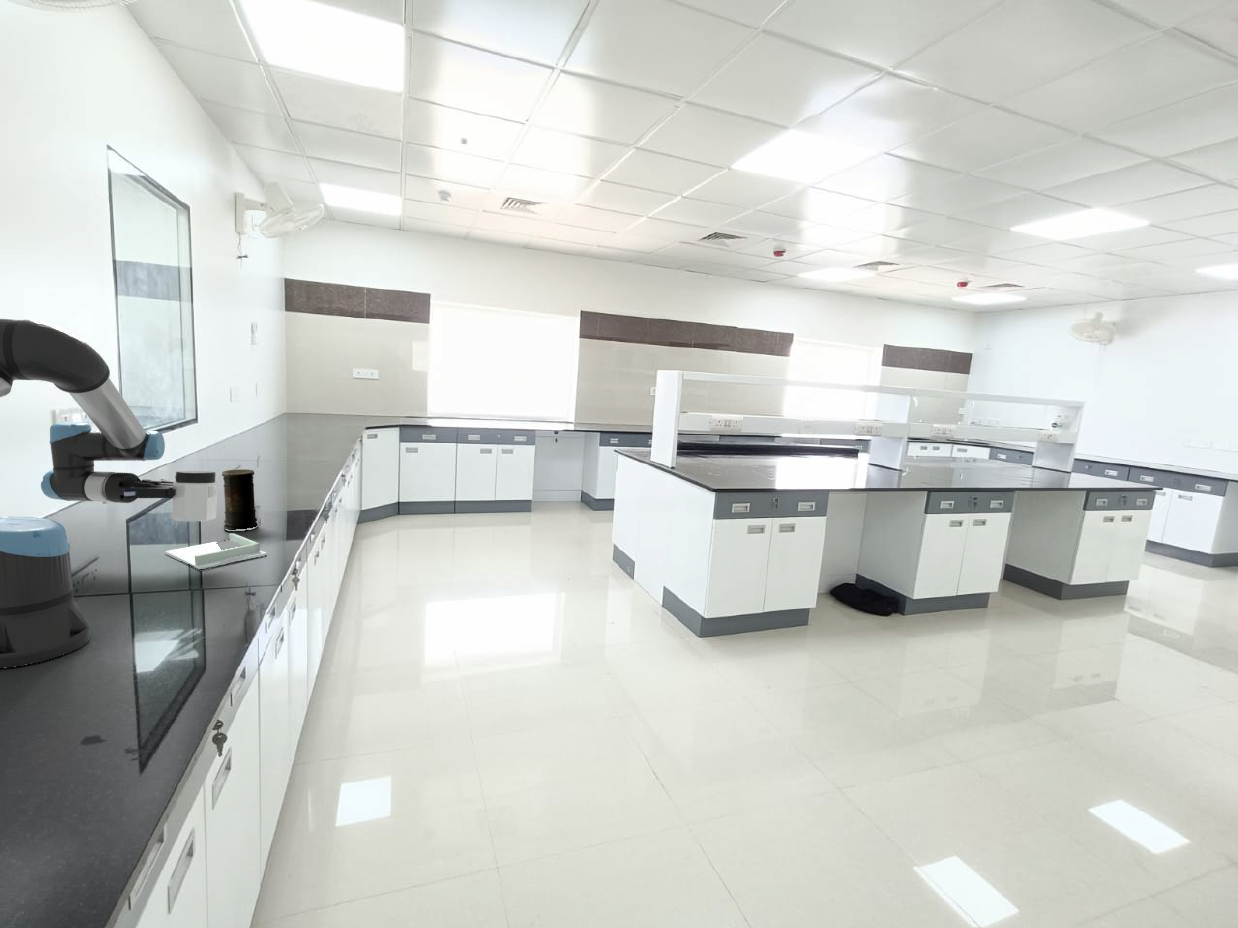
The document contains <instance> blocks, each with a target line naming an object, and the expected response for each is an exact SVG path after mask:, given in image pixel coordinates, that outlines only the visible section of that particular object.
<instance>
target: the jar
mask: <svg viewBox="0 0 1238 928" xmlns="http://www.w3.org/2000/svg"><path fill="white" fill-rule="evenodd" d="M174 477H175V481H176V482H174V483H173V489H176V495H174V497H173V498H172V516H171V517H172V521H176V522H177V521H178V522H207V521H211V520H215V519H217V501H218V499H217V497H218V496H217V495H218V482H216V472H215V471H211V470H210V471H206V470H178V471H175V476H174ZM209 486H213V497H210V498H209V497H208V487H209Z"/></svg>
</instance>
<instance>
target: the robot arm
mask: <svg viewBox="0 0 1238 928" xmlns="http://www.w3.org/2000/svg"><path fill="white" fill-rule="evenodd" d="M110 377H111V371H110V367H109V366H108V363H107V362H106V361H105V360H104V358H103V357H102V356H101V354H100V353H98V352H97V351H96V350H95V349H94V348H93V347H92V346H91V345H89V344H88V343H86V342H85V341H84V340H83V339H81V338H80V337H78V336H76V335H74V334H72V333H71V332H69V331H67V330H65V329H64V328H61V327H59V326H58V325H57V326H56V325H54V324H50V323H48V322H44V321H41V320H40V321H39V320H35V319H33V320H32V319H12V318H11V319H9V318H0V398H2V397H6V396H7V395H9V394H10V393H11V392H12V391H11V390H12V388H13V387H12V386H13V383H14V381H41V382H43V381H44V382H49V383H52V384H53V385H54V386H55V387H56V388H57V389H59V390H60V391H62V392H65V393H68V394H69V395H70V396H71V397H72V399H73V400H74V401H75V402H76V403H77V405H78V406H79V407H80V408H81V410H82V411H83V412H84V413H85V415H86V416H87V417H88V419H90V420H91V422H92V423H93V424H94V426H96V428H97V429H98V430H94V429H93V430H92V427H91V425H90V423H88V422H80V421H65V422H57V423H52V425H51V426H50V427H49V445H50V452H51V458H52V459H51V460H52V461H51V462H52V470H49V471H47V472H46V473H45V474H43V476H42V481H41V482H40V489H41V491H42V493H43V494H44V495H45V496H46V497H47V498H49V499H53V500H60V501H66V502H67V501H68V502H72V501H74V502H78V501H79V502H101V503H102V504H103V505H107V504H108V503H119V504H120V503H121V504H130V503H133V502H134V501H136V500H137V499H173V497H174V495H176V489H173V483H174V482H176V480H169V479H164V478H161V479H159V480H152V479H140V478H139V476H138V475H137V474H135V473H133V472H115V471H95V462H96V461H97V462H99V461H100V462H101V461H102V462H104V461H105V462H106V461H107V462H110V461H112V462H113V461H115V462H116V461H117V462H118V461H121V462H122V461H124V462H126V461H130V462H131V461H135V462H136V461H143V462H145V461H156V460H157V461H158V460H160V459H161V458H163V456H164V454H165V449H166V446H165V445H166V443H165V438H164V435H163V434H162V432H160V431H156V430H154V431H153V430H151V429H150V430H145V428H144V427H143V426H142V424H141V422H140V421H139V419H138V418H137V416H136V415H135V413H134V412H133V411H132V409H131V407H129V405H128V404H127V402H126V401H125V399H124V397H123V396H122V394H121V393H120V392H119V390H118V389H117V388H116V386H115V384H114V382H113V381H112V379H111V378H110ZM208 497H209V498H210V497H213V486H209V487H208ZM68 539H69V538H68V535H67V530H66V528H65V527H64V526H63V525H62V524H61V523H60V522H57V521H56V520H53V519H49V518H44V517H43V518H42V517H37V516H7V517H0V668H4V667H14V666H21V667H23V666H22V665H25V664H31V663H36V664H38V663H37V662H40V663H42V662H41V661H44V662H46V661H45V660H48V661H50V660H49V659H51V660H53V659H52V658H54V659H56V658H55V657H57V658H59V657H58V656H60V657H62V656H61V655H63V654H66V653H68V654H70V653H72V652H71V651H73V650H75V649H77V650H79V649H81V648H82V647H83V646H85V645H86V644H87V643H88V642H89V641H90V639H91V630H90V629H91V628H90V624H89V623H88V621H87V619H86V618H85V615H84V614H83V613H82V611H81V609H80V607H79V606H78V604H77V602H76V601H75V598H74V589H73V587H74V586H73V578H72V566H71V554H70V549H71V546H70V543H69V540H68ZM78 648H79V649H78ZM75 651H76V650H75ZM69 652H70V653H69ZM73 652H74V651H73ZM66 655H67V654H66ZM63 656H64V655H63ZM31 665H32V664H31ZM14 668H15V667H14ZM4 669H5V668H4Z"/></svg>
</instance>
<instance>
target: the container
mask: <svg viewBox="0 0 1238 928" xmlns="http://www.w3.org/2000/svg"><path fill="white" fill-rule="evenodd" d="M254 475H255V471H254V470H253V469H242V468H241V469H227V470H224V471H222V472H221V476H222V477H223V478H222V479H223V483H224V484H223V489H224V490H223V493H224V494H223V495H224V521H223V523H224V525H223V530H224V529H228V530H236V529H247V528H253V527H256V526H257V525H259V524H258V522H257V521H258V519H257V517H256V516H257V515H256V508H255V507H256V506H255V504H256V503H255V484H254V477H255V476H254ZM257 527H258V526H257Z"/></svg>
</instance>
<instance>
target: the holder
mask: <svg viewBox="0 0 1238 928" xmlns="http://www.w3.org/2000/svg"><path fill="white" fill-rule="evenodd" d="M228 536H229V538H228V539H230V541H233V542H235V543H238V544H240V545H242V546H240V547H235V548H230V549H225V550H221V549H220V547H219V546H218V544H216V543H217V542H216V541H212V542H207V543H202V544H197V545H196V544H195V545H191V546H186V547H181V548H175V549H170V550H165V551H164V553H165V555H167V556H169V557H171V558H173V559H175V560H177V561H179V562H181V561H183V562H185V563H187V564H190V565H192V566H194V567H196V568H198V569H202V568H206V567H209V566H212V565H215V564H219V563H220V562H219V561H226V558H230V557H234V556H240V555H245V554H248V556H247V557H251V556H258V555H264V554H267V555H268V553H267V552H266V551H263V550H261V543H260V542H256V541H254V540H251V539H250V538H246V537H244V536H241V535H239V534H237V533H235V532H231V533H228ZM249 554H250V555H249ZM244 558H246V555H245V557H244ZM183 562H182V563H183ZM185 563H184V564H185ZM187 564H186V565H187Z"/></svg>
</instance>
